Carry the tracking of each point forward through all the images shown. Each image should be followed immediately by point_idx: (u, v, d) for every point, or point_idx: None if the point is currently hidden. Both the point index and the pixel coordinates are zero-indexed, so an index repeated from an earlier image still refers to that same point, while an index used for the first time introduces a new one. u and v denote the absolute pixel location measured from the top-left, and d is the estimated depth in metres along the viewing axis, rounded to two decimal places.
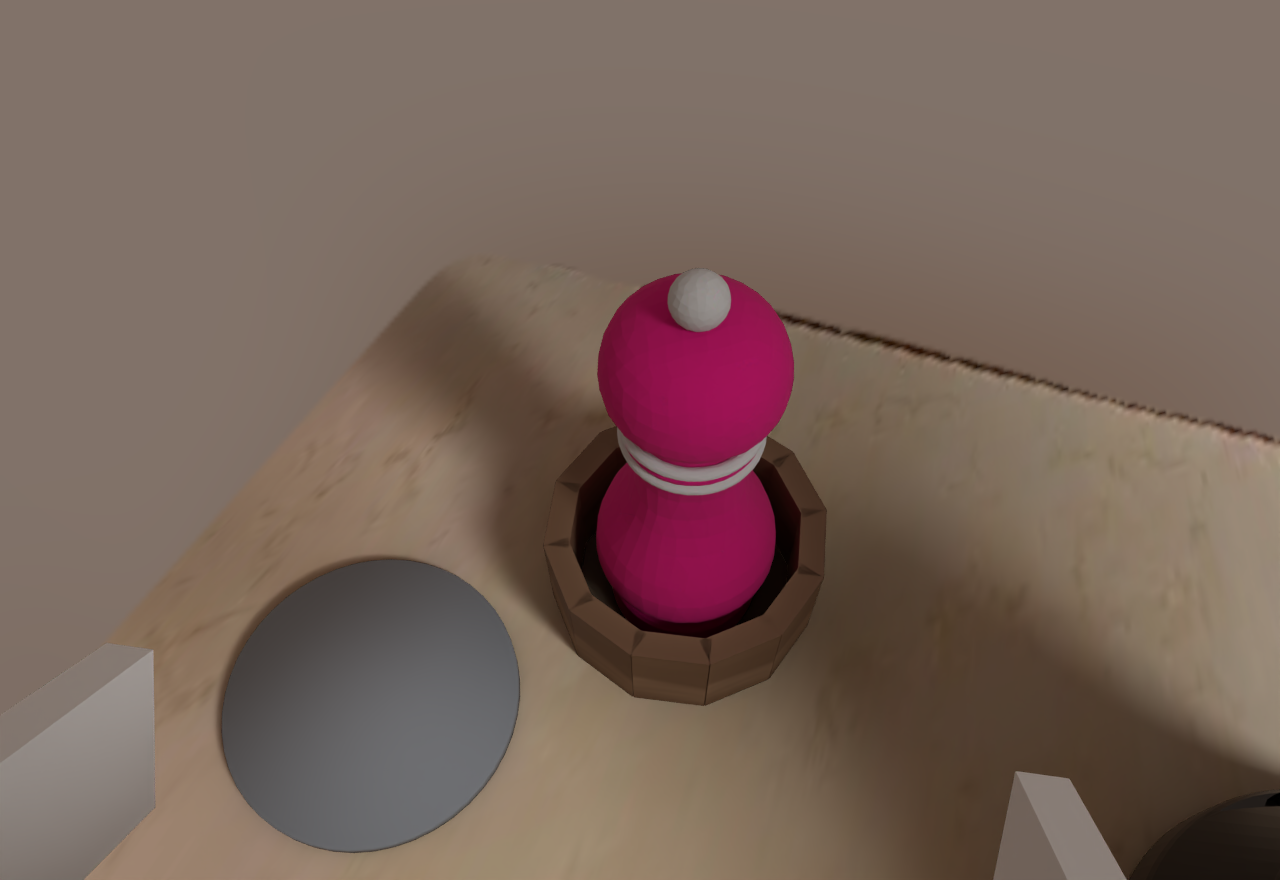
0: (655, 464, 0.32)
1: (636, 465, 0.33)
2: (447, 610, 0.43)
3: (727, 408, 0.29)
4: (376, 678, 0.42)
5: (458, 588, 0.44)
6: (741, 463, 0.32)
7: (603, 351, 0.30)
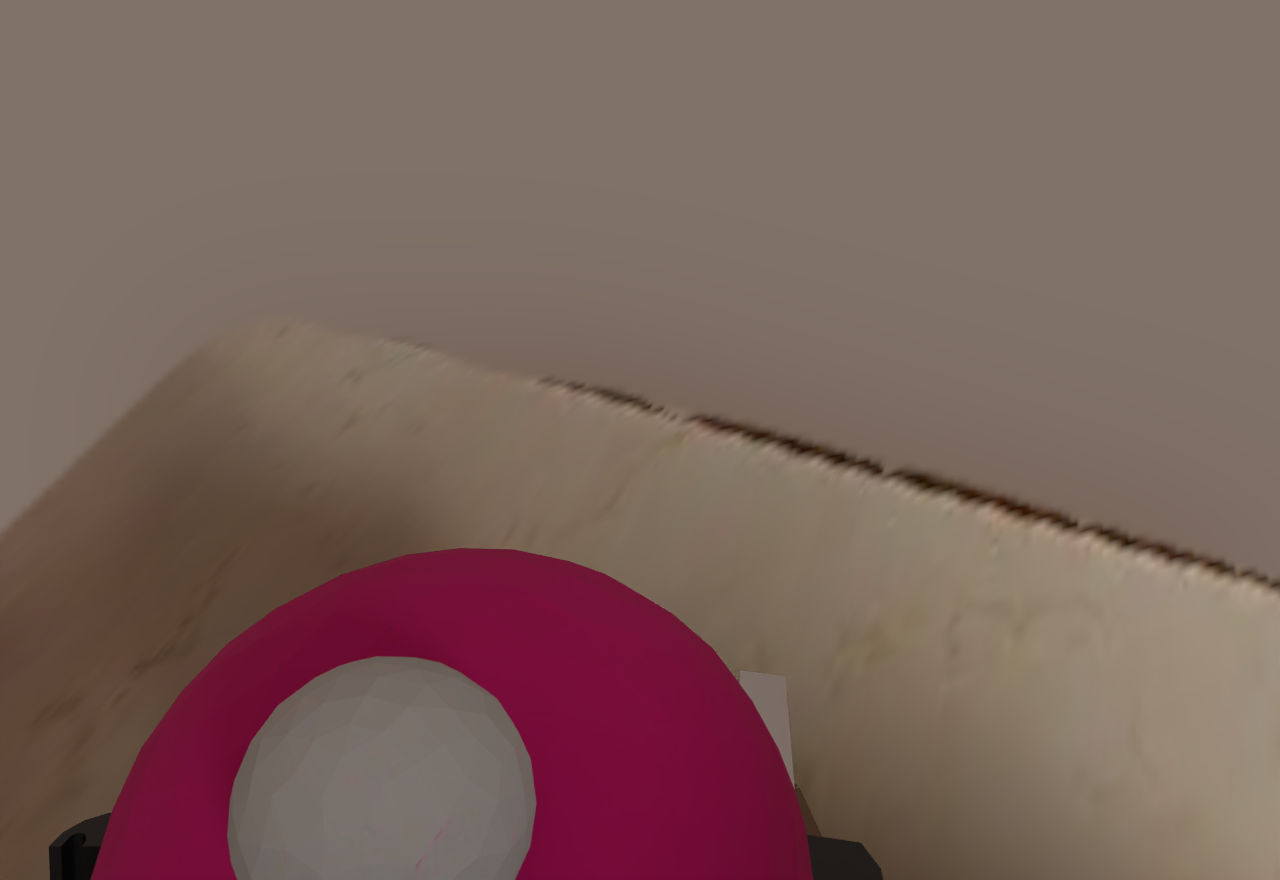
0: None
1: None
2: None
3: None
4: None
5: None
6: None
7: None
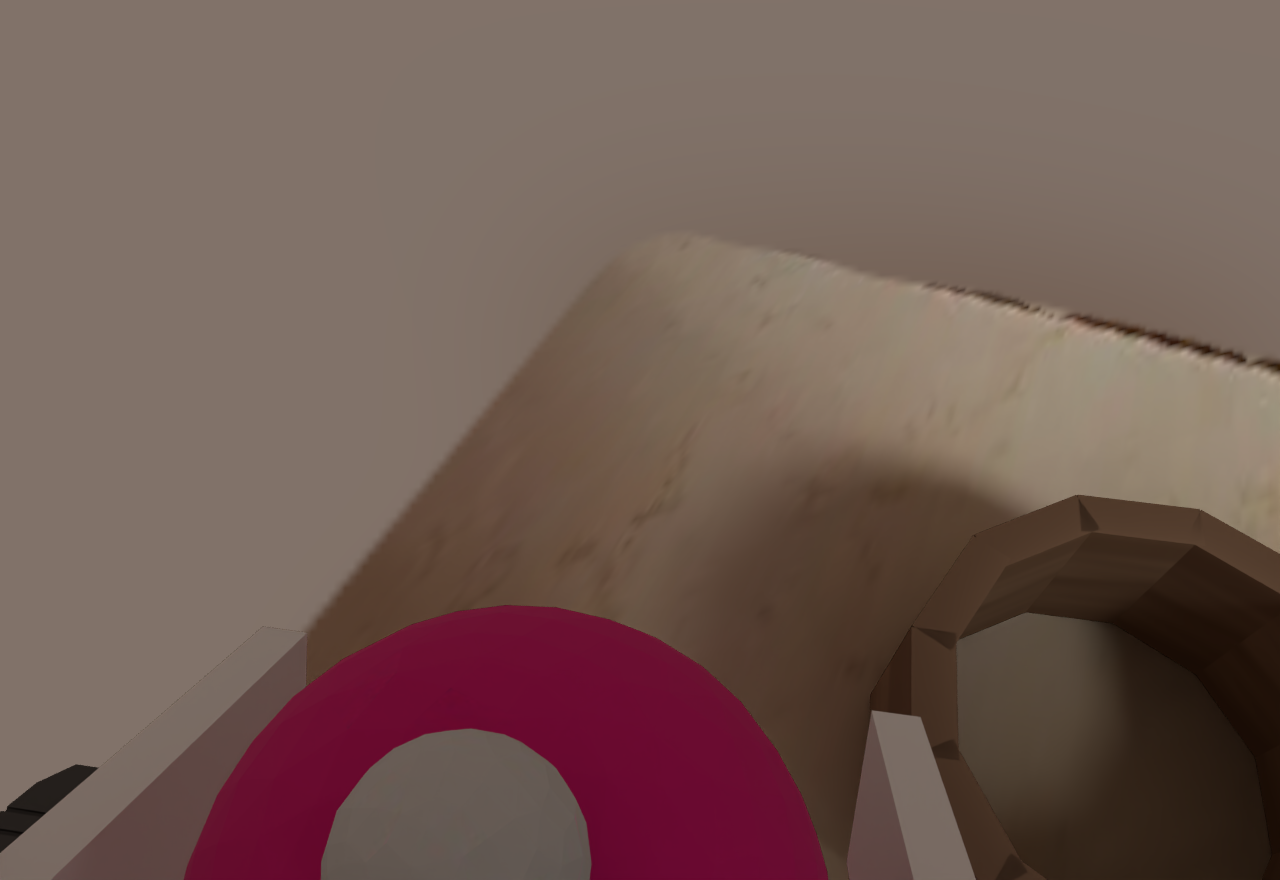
0: None
1: None
2: None
3: None
4: None
5: None
6: None
7: None
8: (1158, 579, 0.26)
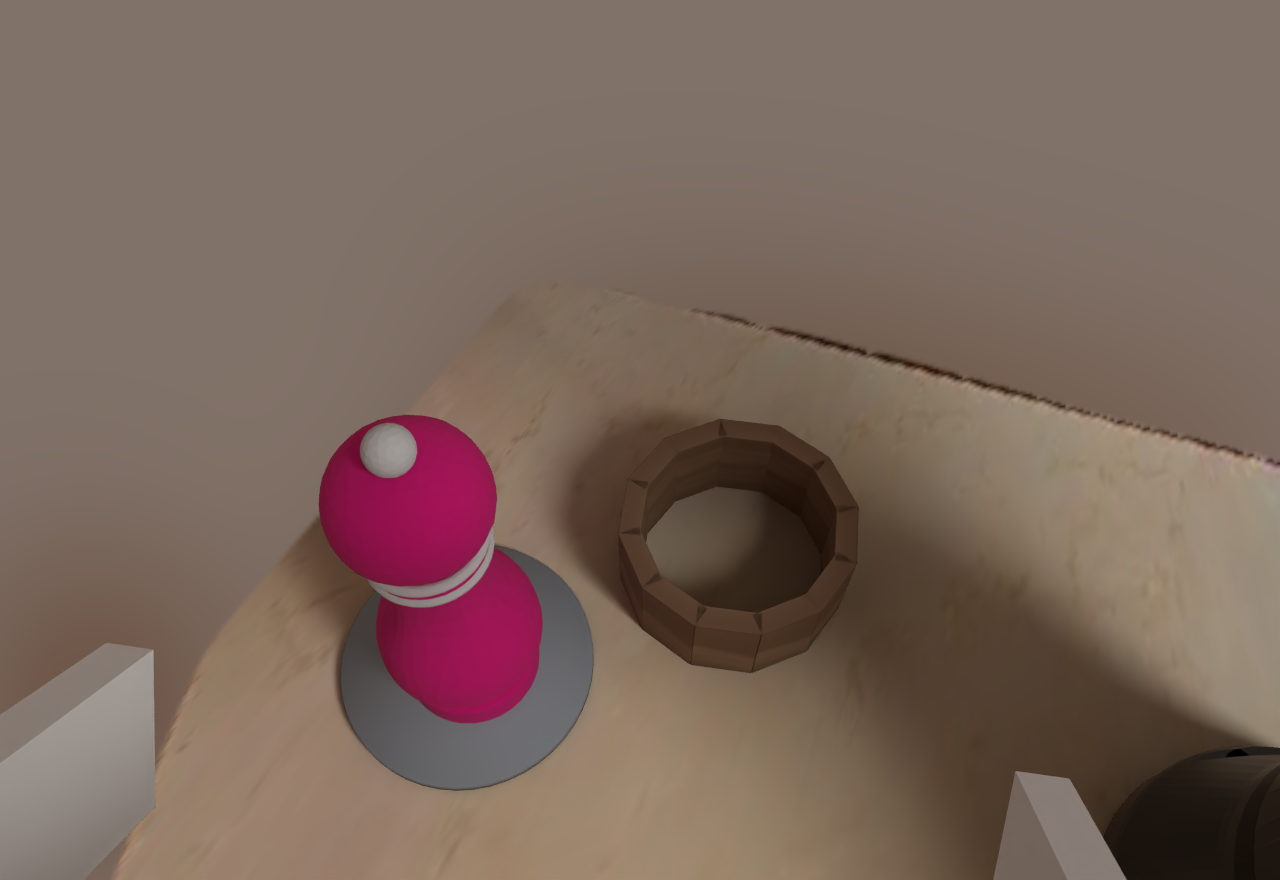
0: None
1: None
2: None
3: (413, 544, 0.33)
4: None
5: (539, 570, 0.51)
6: (456, 582, 0.36)
7: None
8: (767, 463, 0.52)
